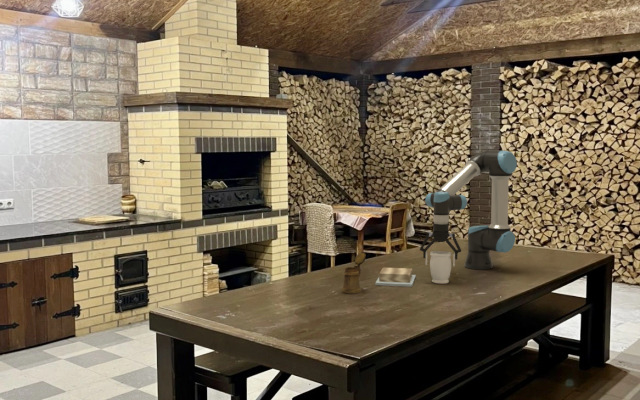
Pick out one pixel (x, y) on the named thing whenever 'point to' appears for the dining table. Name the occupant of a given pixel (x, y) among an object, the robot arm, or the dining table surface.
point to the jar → (440, 266)
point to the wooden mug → (353, 275)
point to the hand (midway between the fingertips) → (440, 265)
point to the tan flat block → (395, 275)
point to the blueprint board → (396, 283)
